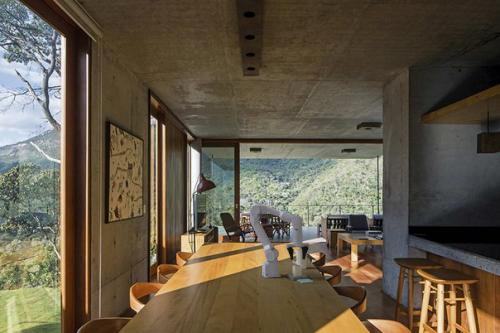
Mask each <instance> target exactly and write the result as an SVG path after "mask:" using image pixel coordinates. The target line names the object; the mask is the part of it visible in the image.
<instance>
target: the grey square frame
mask: <svg viewBox="0 0 500 333" xmlns="http://www.w3.org/2000/svg"><path fill="white" fill-rule="evenodd" d="M286 278H289V279H290V280H292V281H297V280H300V279H308V275H305V274H303V273H302V276H293V273H287V274H286Z"/></svg>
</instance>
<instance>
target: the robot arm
mask: <svg viewBox="0 0 500 333" xmlns="http://www.w3.org/2000/svg"><path fill="white" fill-rule="evenodd" d="M265 213H268V214H270V215H273V216H276V217H279V218H280V220H281V221H284V222H286V223H288V224H292V243H289V244H288V243H287V244H285V248H286V250H287V252H288V255H289V257H290V261H291V262H292V261H293V260H294V255H293V252H294V251H295V249H294V248H300V249H302V259H304V260H305V257H306V258H307V253H308V252H309V248H310V243H309V242H303V222H304V220H303V217H302V216H301V215H299V214H298V215H297V214H296V213H291V212H289V210H283V211H280V210H279V209H276V208H274V207H271V206H270V205H269V206H268V205H266V204H262V203H256V204H252V205H251V206H250V208H249V223H250V225H251V227H252V228H253V230H254V232H255V235H256V236H257V238H258V239H259V241H260V243H261V245H262V247H263V252H264V254H265V255H264V257H265V259H266V260H265V261H262V263H261V269H262V271H261V276H262V277H263V278H265V279H269V278H281V277H282V275H280V272H279V259H278V258H279V256H280V252H279V250H278V249H276V247H275V245H274V244H272V243H271V241H270V239H269V237H268V235H267V233H266V231H265V230H264V227H263V226H262V224H261V222H260V219H261V216H262V215H263V214H265Z"/></svg>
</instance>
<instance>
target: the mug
mask: <svg viewBox="0 0 500 333" xmlns="http://www.w3.org/2000/svg"><path fill="white" fill-rule="evenodd" d="M294 255H296V261H295V260H294V259H293V261H292V260H291V262H292V265H293V264H294V265H300V266H301V268H302V270H306V269H307V256H306V257H305V260H304V259H302V248H296V249H295V250H294V252H293V256H294Z"/></svg>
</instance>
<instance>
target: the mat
mask: <svg viewBox="0 0 500 333" xmlns="http://www.w3.org/2000/svg"><path fill="white" fill-rule="evenodd" d="M296 281H297V282H299V283H301V284H313V283H315V281H313V280H311V279H310V278H307V279H300V280H296Z"/></svg>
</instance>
